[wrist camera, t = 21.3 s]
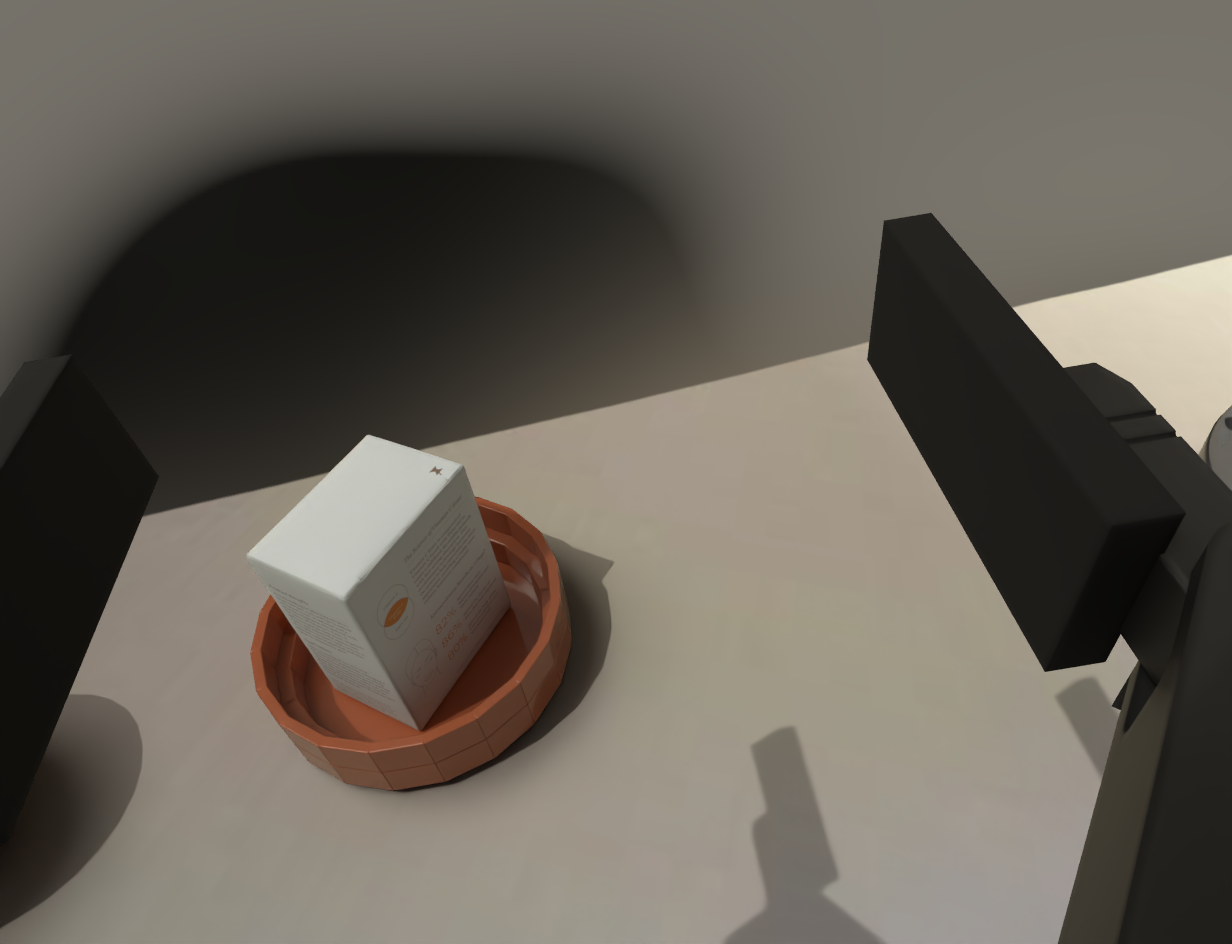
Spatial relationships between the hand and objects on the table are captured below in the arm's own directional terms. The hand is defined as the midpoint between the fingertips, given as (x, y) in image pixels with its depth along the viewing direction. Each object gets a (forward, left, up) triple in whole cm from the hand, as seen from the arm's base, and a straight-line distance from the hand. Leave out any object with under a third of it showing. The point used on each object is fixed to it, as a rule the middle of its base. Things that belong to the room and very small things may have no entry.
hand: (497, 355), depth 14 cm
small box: (+9, -13, -26) cm, 31 cm away
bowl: (+9, -13, -26) cm, 31 cm away
